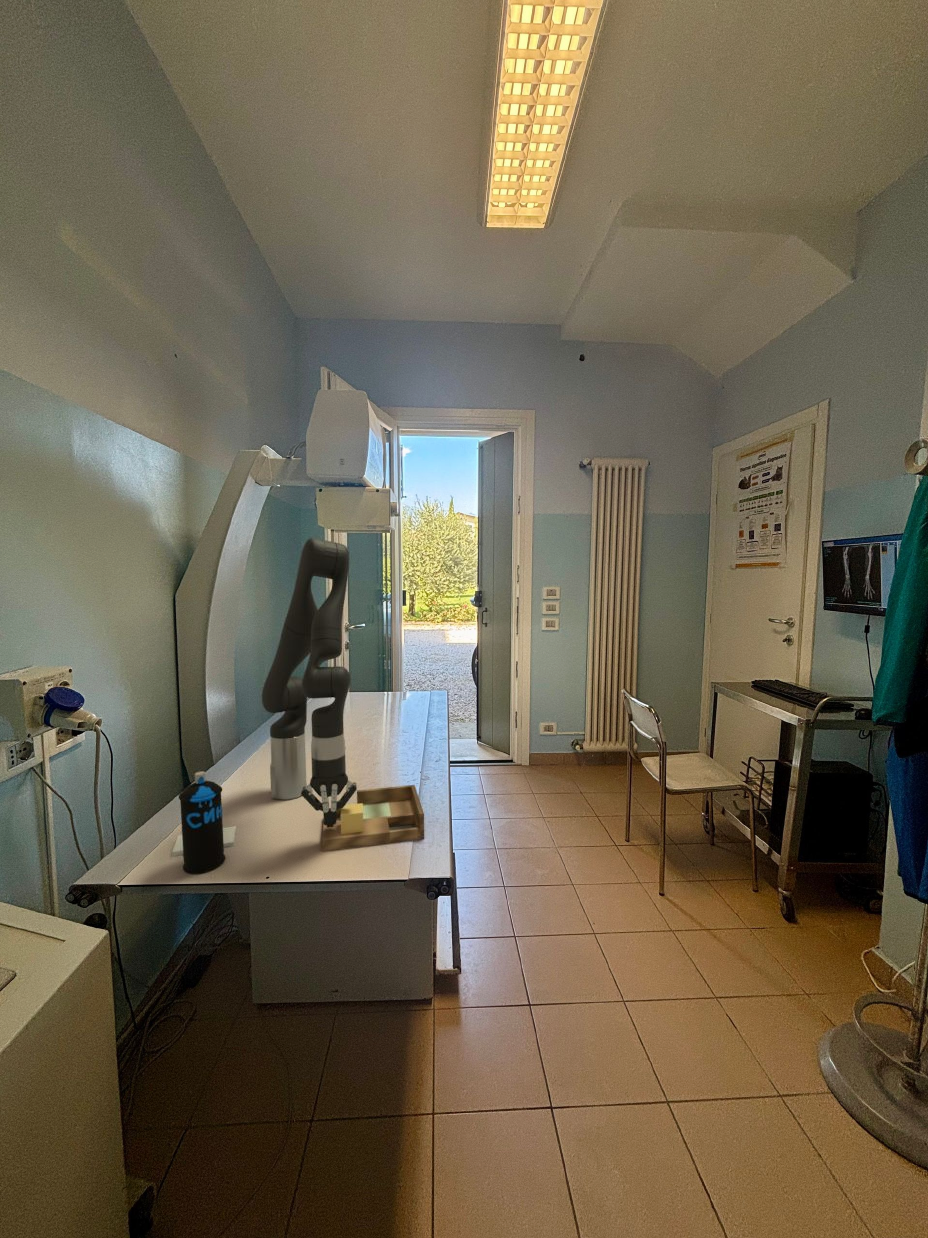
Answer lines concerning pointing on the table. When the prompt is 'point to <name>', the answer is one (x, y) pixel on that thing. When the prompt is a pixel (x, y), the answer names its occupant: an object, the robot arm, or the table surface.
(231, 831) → the external hard drive
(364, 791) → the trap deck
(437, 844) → the table surface
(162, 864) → the table surface
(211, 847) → the aerosol can
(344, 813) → the block
